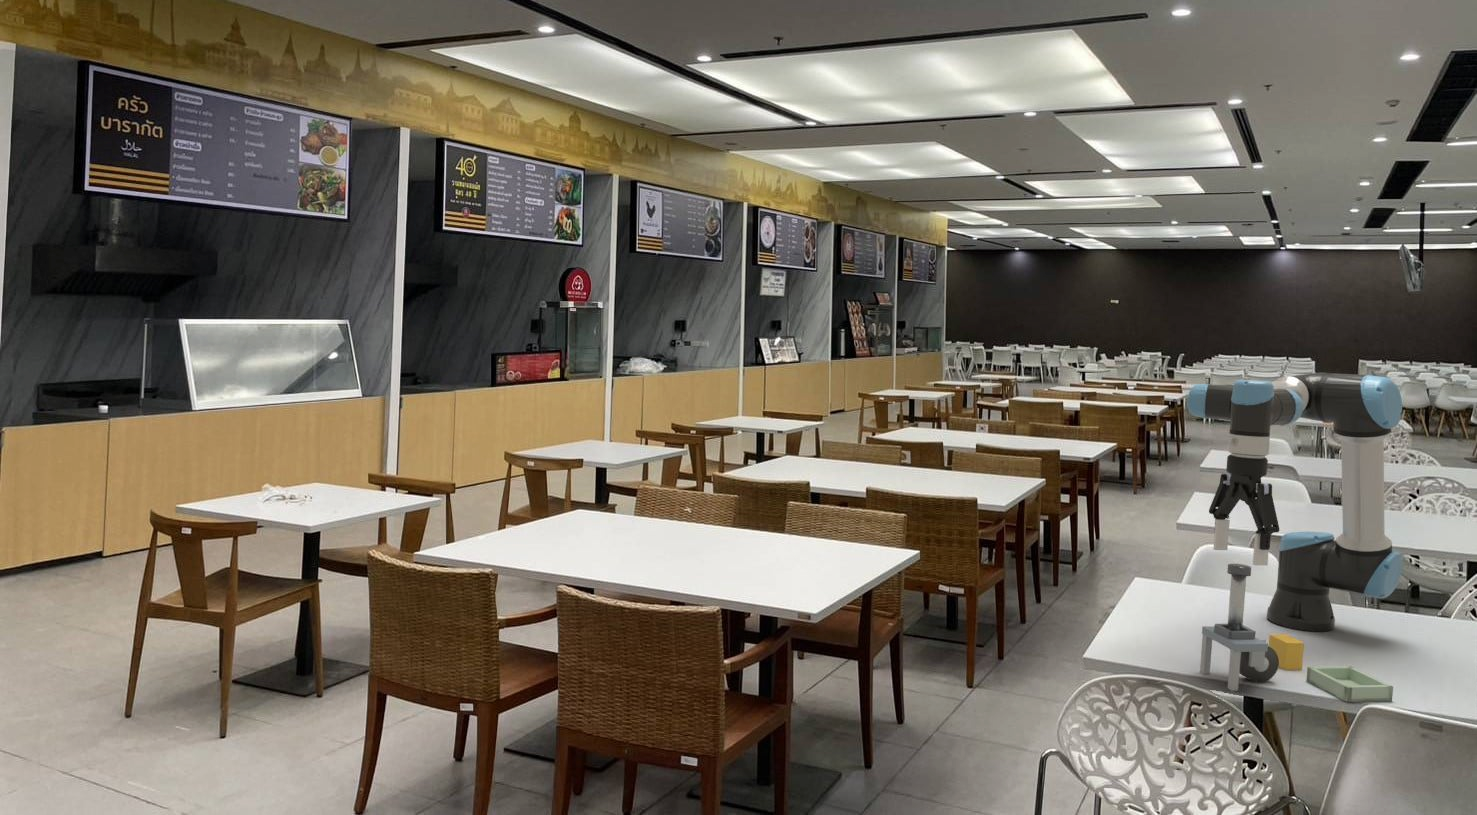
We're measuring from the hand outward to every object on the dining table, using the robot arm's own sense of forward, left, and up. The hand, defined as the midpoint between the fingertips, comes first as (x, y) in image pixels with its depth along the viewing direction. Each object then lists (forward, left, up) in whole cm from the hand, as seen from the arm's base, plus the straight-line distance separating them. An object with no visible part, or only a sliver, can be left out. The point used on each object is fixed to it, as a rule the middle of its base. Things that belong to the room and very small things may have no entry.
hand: (1239, 557), depth 218 cm
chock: (-19, -9, -26) cm, 34 cm away
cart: (-3, 0, -26) cm, 26 cm away
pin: (0, 0, -17) cm, 17 cm away
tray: (-22, +7, -26) cm, 35 cm away
